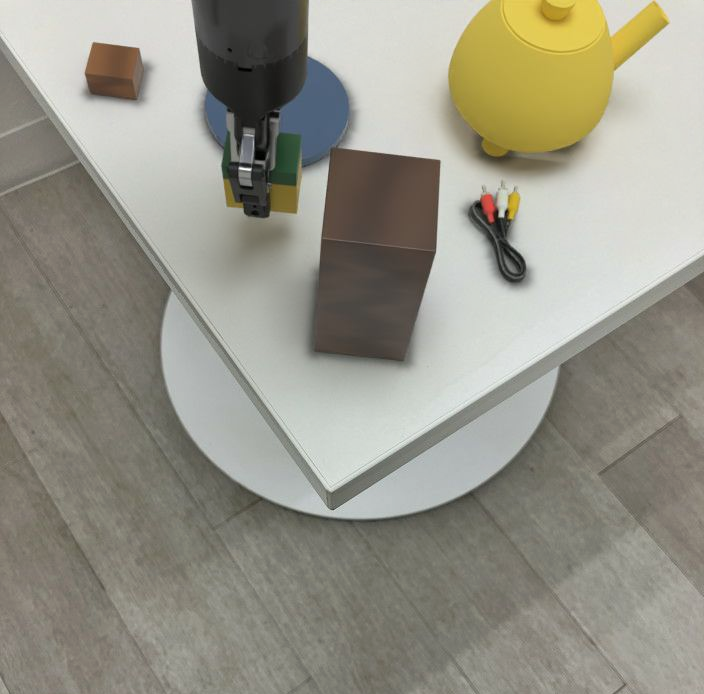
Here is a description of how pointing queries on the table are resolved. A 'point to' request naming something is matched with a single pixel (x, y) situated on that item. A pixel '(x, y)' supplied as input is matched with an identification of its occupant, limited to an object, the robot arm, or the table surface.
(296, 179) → the sponge
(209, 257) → the table surface
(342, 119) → the plate
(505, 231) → the composite cable
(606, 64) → the teapot
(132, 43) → the table surface
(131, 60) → the brown square block
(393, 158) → the tall dark wooden block
